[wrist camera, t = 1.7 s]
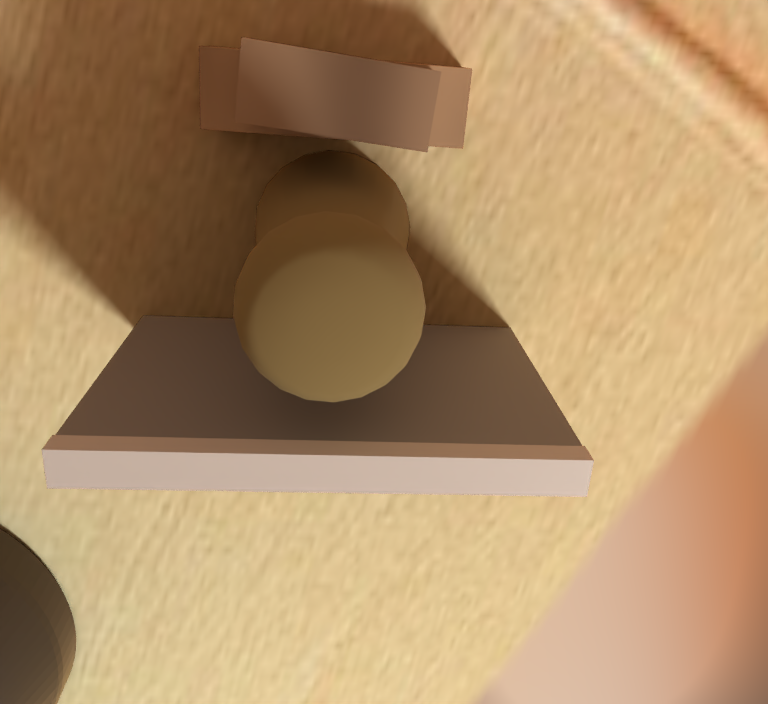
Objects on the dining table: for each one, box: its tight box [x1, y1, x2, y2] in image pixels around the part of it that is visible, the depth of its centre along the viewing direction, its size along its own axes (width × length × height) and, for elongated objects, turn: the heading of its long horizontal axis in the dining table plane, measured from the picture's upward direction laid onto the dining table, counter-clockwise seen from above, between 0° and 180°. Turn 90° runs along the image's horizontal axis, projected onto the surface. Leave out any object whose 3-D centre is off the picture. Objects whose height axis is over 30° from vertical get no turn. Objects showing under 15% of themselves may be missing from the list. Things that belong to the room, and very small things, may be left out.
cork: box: [233, 150, 426, 402], centre depth 23 cm, size 6×6×11 cm
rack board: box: [42, 315, 594, 497], centre depth 25 cm, size 15×1×11 cm, turn 86°
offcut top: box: [235, 37, 441, 152], centre depth 23 cm, size 6×2×2 cm, turn 80°
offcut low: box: [199, 46, 472, 149], centre depth 26 cm, size 9×3×2 cm, turn 85°
